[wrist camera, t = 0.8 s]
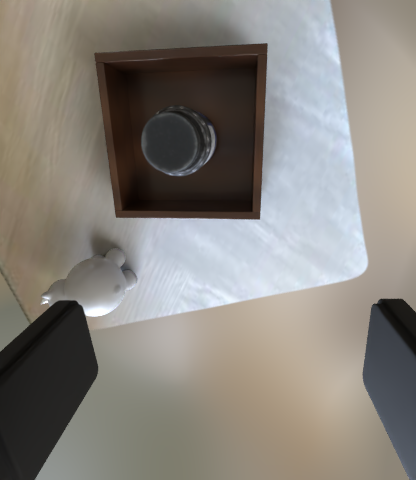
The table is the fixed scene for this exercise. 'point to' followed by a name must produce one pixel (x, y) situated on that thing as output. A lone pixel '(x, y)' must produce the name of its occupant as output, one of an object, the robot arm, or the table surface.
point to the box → (201, 100)
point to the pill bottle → (178, 140)
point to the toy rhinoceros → (94, 284)
